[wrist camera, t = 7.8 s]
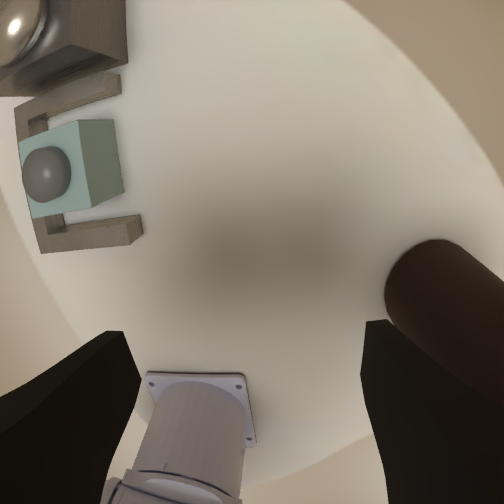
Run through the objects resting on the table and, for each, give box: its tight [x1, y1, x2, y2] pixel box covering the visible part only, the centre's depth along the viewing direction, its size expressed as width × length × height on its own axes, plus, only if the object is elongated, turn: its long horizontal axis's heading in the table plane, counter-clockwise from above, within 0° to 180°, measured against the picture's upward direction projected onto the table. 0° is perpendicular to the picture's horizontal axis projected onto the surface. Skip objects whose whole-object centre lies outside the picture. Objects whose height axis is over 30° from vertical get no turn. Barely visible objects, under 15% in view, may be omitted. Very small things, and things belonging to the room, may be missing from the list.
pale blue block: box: [18, 119, 124, 219], centre depth 15 cm, size 4×4×5 cm
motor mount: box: [0, 0, 143, 254], centre depth 13 cm, size 16×8×7 cm, turn 6°
